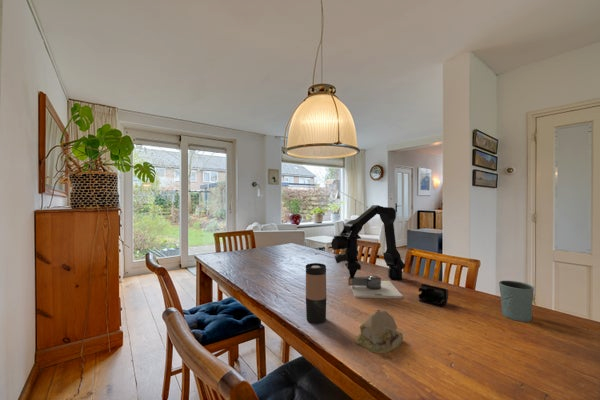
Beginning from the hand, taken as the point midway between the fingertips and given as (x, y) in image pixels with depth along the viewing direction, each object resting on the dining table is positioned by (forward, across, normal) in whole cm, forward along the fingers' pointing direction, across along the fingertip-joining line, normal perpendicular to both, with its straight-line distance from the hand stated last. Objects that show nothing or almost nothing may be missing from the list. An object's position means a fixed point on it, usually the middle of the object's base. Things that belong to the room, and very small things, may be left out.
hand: (351, 279), depth 130 cm
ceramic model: (+5, +48, +2) cm, 49 cm away
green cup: (+4, +29, +57) cm, 64 cm away
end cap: (+4, +17, +32) cm, 37 cm away
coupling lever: (+3, +3, +6) cm, 7 cm away
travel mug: (+4, +35, -18) cm, 39 cm away
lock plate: (+4, +3, +10) cm, 11 cm away
